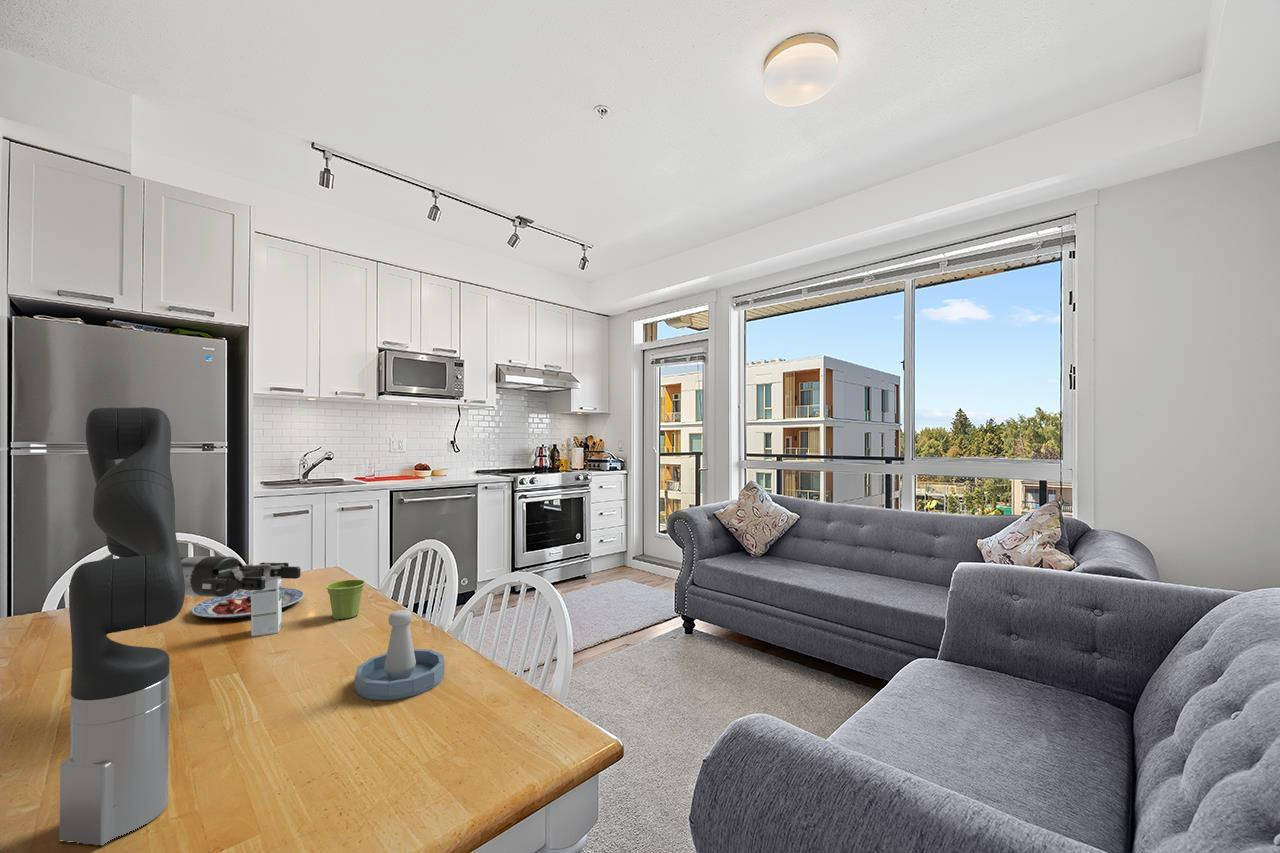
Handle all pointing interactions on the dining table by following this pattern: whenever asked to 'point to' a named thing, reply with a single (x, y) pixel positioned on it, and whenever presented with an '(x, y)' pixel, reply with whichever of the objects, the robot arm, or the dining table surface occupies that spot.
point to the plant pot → (345, 598)
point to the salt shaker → (400, 647)
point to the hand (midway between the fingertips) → (282, 578)
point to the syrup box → (266, 609)
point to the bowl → (424, 677)
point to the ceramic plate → (239, 604)
